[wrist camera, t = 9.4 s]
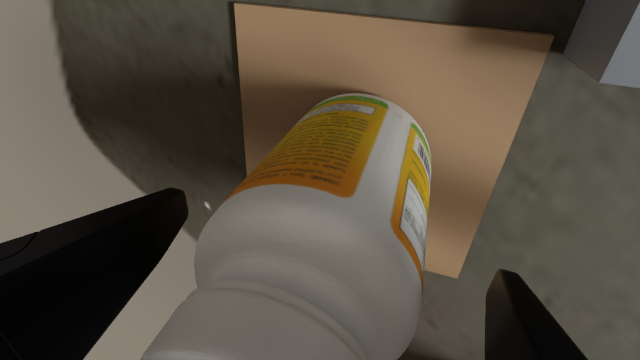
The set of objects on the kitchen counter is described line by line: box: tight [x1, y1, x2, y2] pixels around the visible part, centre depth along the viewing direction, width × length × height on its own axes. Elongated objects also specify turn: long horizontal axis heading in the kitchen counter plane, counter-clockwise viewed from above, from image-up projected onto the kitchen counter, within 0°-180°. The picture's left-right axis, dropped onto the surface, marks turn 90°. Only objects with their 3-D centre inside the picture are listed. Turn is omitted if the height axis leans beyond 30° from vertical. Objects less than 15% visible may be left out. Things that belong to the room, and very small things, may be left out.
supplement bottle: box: [141, 93, 431, 360], centre depth 10 cm, size 5×5×10 cm
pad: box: [234, 2, 555, 278], centre depth 14 cm, size 10×10×1 cm
